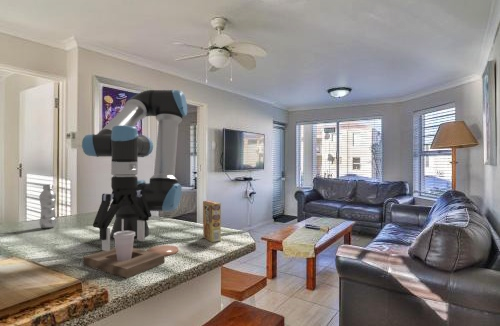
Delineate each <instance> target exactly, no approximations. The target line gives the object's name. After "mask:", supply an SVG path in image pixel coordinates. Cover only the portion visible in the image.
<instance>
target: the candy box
mask: <svg viewBox="0 0 500 326" xmlns="http://www.w3.org/2000/svg"><path fill="white" fill-rule="evenodd" d="M221 205H222V203H221V202H218V201H214V200H203V201H202V211H203V212H202V229H203V230H202V233H203V235H202V236H203V238H204V239H206V240H207V241H210V242H211V243H216V242H221V241H222V240H221V239H222V236H221V234H222V231H221V230H222V228H221V227H222V225H221V222H222V218H221V216H222V215H221V208H222V207H221Z"/></svg>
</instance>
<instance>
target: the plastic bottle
mask: <svg viewBox="0 0 500 326" xmlns="http://www.w3.org/2000/svg"><path fill="white" fill-rule="evenodd" d="M53 186H54V184H43V186H42V189H43V190H42V191H41V192H40V194H39V196H38V198H39V199H38V200H39V203H40V217H39V218H40V219H39V227H40V228H42V229H51V228H55V227H56V226H57V223H58V222H57V221H58V220H57V216H56V201H57V194H56V192H55V191H54V187H53Z"/></svg>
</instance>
